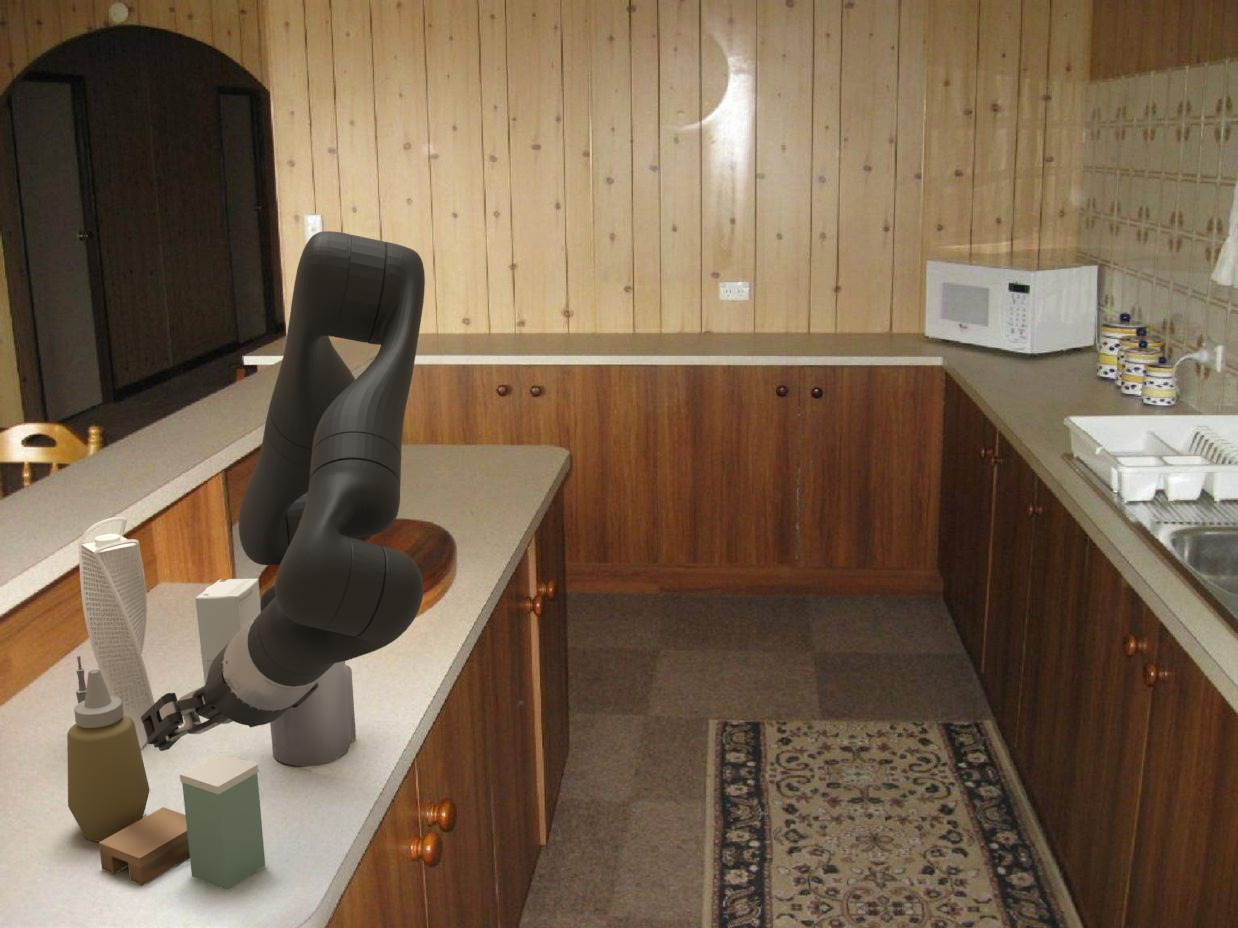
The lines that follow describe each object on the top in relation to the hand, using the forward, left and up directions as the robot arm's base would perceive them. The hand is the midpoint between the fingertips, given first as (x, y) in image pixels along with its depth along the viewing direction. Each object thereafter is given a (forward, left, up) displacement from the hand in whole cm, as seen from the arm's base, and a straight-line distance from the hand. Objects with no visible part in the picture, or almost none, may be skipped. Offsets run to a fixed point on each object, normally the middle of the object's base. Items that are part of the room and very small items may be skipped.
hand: (205, 728), depth 114 cm
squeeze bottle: (-5, -22, -19) cm, 29 cm away
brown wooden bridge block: (-3, -13, -19) cm, 23 cm away
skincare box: (-37, -37, -19) cm, 55 cm away
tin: (-5, -4, -19) cm, 20 cm away
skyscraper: (-20, -38, -19) cm, 47 cm away
